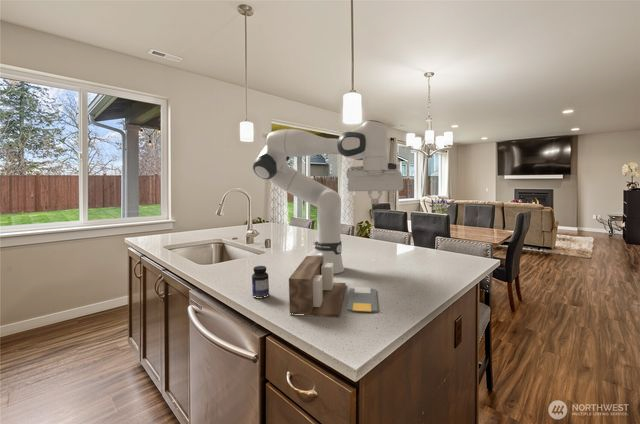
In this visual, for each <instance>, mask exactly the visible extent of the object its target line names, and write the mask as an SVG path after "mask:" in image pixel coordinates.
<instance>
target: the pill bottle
mask: <svg viewBox="0 0 640 424" xmlns="http://www.w3.org/2000/svg"><path fill="white" fill-rule="evenodd" d="M253 272H254V273H253V274H252V275H251V285H252V287H251V288H252V289H251V290H252V297H253V296H256V297H264V296H267V295H268V296H269V295H270V285H269V282H270V281H269V273H267V266H266V265H257V266H254V267H253ZM268 296H267V297H268Z"/></svg>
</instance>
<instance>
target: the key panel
mask: <svg viewBox="0 0 640 424" xmlns="http://www.w3.org/2000/svg"><path fill="white" fill-rule="evenodd" d="M305 256H306V255H305ZM305 256H304V259H302V261H301V262H300V264H299V265H298V266H297V267H296V269H295V270H294V271H293V272H292V274H291V275H290V276H289V278H288V300H289V302H288V305H289V314H290V313H291V314H292V313H293V314H304V315H314V316H313V317H322V316H324V317H323V318H325V317H326V318H340V316H341V310H342V307H343V300H344V295H345V291H346V282H334V285H333V289H332V290H323V301H322V304H321V306H320V307H313V277H314V276H315V275H321V266H322V265H323V263H324V261H323V256H306V257H305Z"/></svg>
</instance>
